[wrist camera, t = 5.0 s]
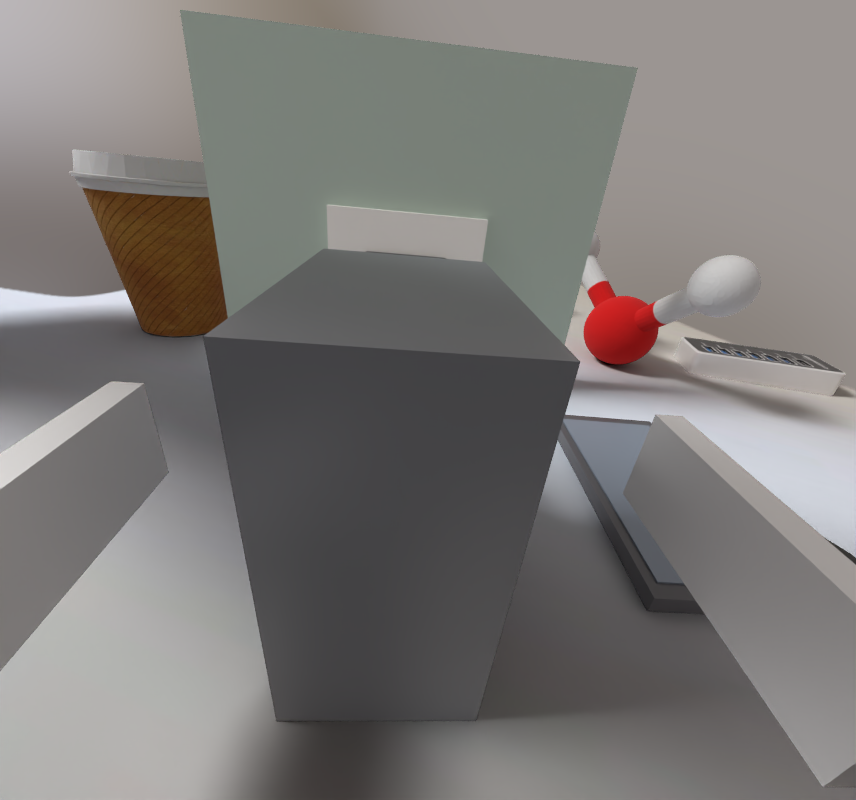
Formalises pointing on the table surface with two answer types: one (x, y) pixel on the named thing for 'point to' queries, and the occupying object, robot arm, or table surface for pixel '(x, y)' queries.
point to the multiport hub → (758, 366)
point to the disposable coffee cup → (158, 237)
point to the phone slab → (623, 505)
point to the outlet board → (401, 153)
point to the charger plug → (385, 476)
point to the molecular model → (660, 305)
